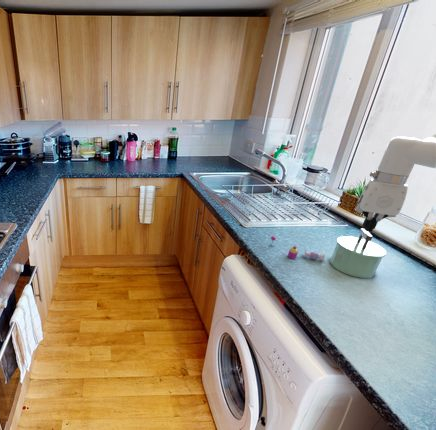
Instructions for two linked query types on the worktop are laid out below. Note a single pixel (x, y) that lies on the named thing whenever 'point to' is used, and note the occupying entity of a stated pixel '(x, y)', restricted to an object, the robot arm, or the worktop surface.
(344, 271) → the canister
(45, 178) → the worktop surface
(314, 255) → the candies
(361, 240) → the lid
